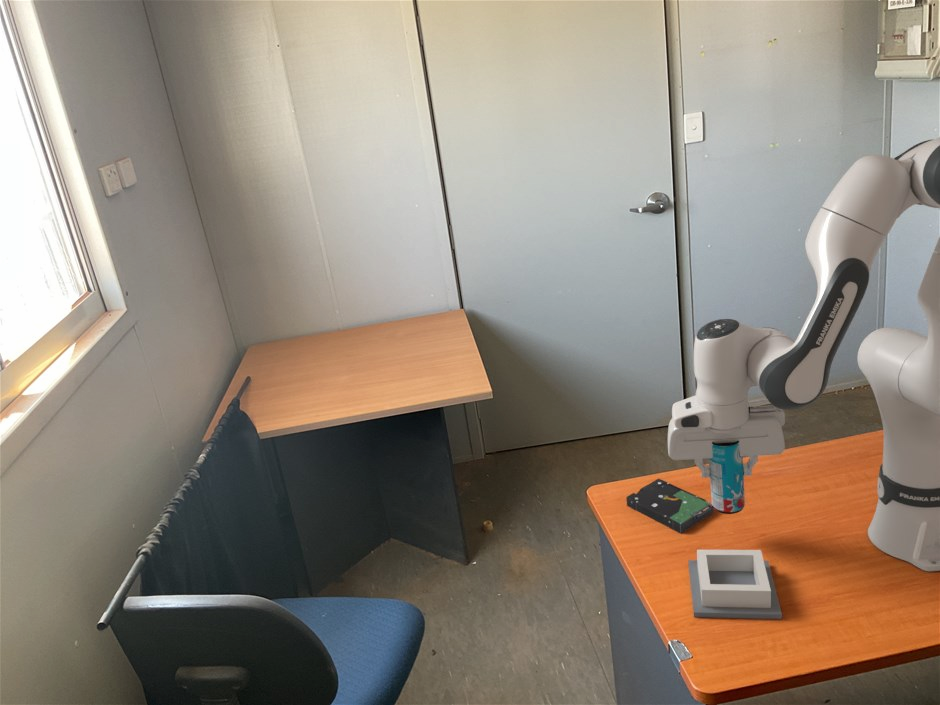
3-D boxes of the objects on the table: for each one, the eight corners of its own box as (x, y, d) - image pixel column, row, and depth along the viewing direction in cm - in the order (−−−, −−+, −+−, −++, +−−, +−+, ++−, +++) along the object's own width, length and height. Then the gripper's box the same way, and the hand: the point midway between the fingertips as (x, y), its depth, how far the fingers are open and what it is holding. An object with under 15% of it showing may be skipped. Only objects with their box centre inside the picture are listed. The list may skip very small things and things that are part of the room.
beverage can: (741, 517, 141) (738, 445, 135) (708, 513, 144) (703, 442, 138) (747, 499, 145) (744, 430, 140) (715, 496, 148) (711, 427, 143)
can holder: (768, 565, 140) (768, 544, 138) (781, 619, 127) (782, 597, 125) (688, 564, 143) (687, 544, 141) (694, 617, 130) (693, 595, 129)
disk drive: (625, 508, 163) (681, 536, 152) (625, 497, 162) (681, 524, 151) (658, 488, 169) (715, 513, 157) (658, 477, 168) (714, 502, 156)
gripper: (781, 396, 137) (783, 463, 142) (663, 404, 142) (669, 468, 147) (788, 413, 132) (789, 481, 137) (665, 421, 136) (671, 487, 142)
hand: (726, 475), depth 142 cm, fingers closed on beverage can, 6 cm apart
